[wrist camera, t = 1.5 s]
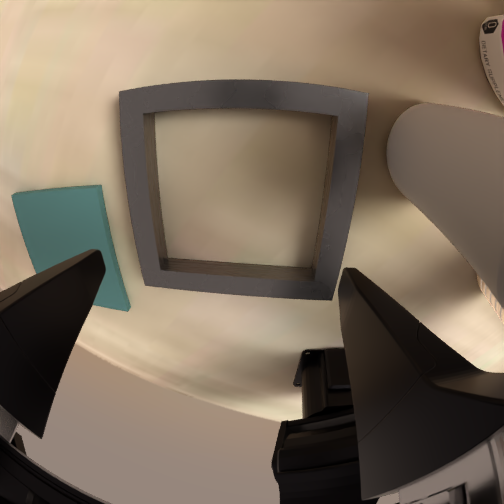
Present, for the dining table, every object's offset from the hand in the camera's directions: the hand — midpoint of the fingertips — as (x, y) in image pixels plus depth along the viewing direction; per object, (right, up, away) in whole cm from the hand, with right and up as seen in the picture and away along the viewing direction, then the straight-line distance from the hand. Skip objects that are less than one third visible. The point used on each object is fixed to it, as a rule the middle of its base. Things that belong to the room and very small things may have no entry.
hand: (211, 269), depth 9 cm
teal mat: (-15, +1, +10) cm, 18 cm away
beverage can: (+12, +7, +4) cm, 14 cm away
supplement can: (+20, +14, -1) cm, 24 cm away
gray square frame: (+1, +4, +6) cm, 8 cm away
